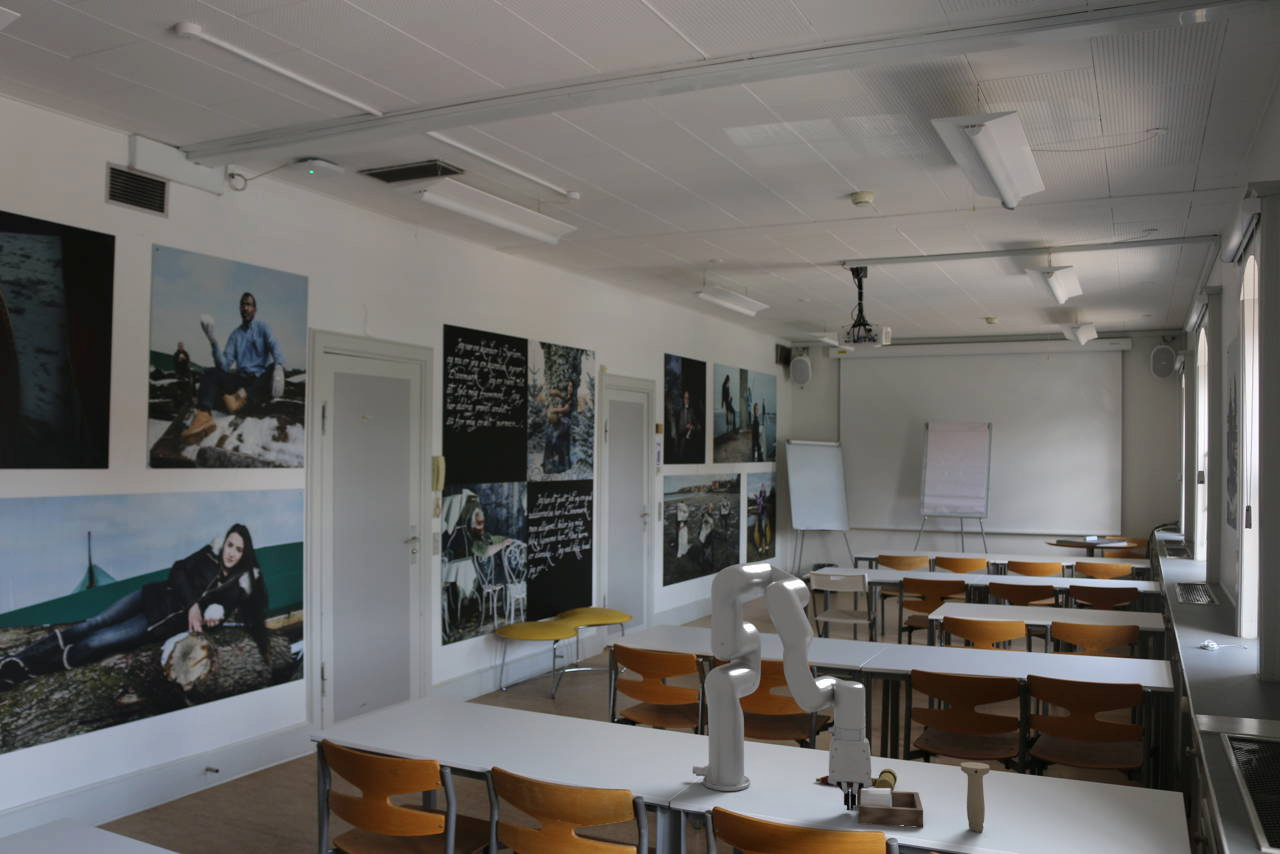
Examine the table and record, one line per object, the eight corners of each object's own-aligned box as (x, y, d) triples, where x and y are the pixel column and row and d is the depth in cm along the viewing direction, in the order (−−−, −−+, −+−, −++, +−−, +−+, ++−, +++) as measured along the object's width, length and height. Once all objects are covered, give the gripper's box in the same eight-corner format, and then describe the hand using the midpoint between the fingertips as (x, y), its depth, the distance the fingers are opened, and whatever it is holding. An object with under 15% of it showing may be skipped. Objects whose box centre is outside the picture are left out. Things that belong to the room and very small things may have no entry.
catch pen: (858, 823, 238) (858, 806, 239) (856, 804, 251) (856, 788, 251) (923, 827, 236) (923, 810, 236) (918, 808, 249) (918, 792, 249)
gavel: (811, 777, 265) (818, 766, 274) (813, 794, 264) (819, 783, 274) (892, 779, 258) (896, 768, 267) (893, 797, 257) (897, 786, 267)
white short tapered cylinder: (863, 812, 248) (892, 815, 245) (860, 817, 241) (890, 820, 239) (863, 783, 249) (892, 786, 247) (860, 787, 242) (889, 790, 240)
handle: (960, 825, 237) (959, 761, 238) (989, 827, 236) (988, 763, 236) (962, 832, 232) (961, 767, 233) (991, 834, 231) (990, 769, 231)
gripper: (818, 735, 243) (818, 811, 243) (881, 739, 240) (881, 816, 240) (819, 727, 251) (819, 801, 250) (880, 730, 248) (880, 805, 247)
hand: (850, 808), depth 245 cm, fingers closed
